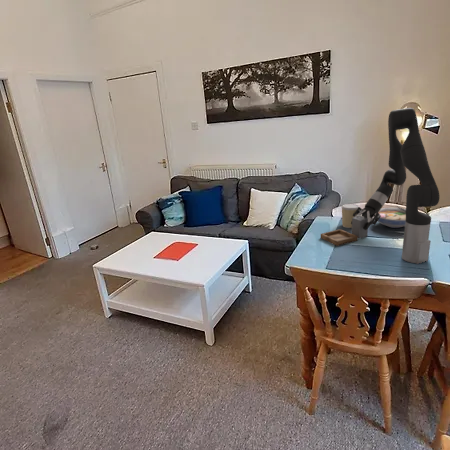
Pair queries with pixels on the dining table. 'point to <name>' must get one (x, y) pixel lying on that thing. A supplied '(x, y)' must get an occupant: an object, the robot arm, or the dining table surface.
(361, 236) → the grey rectangular block
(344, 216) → the coffee cup
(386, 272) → the dining table surface
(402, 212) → the ramen bowl
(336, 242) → the tray
